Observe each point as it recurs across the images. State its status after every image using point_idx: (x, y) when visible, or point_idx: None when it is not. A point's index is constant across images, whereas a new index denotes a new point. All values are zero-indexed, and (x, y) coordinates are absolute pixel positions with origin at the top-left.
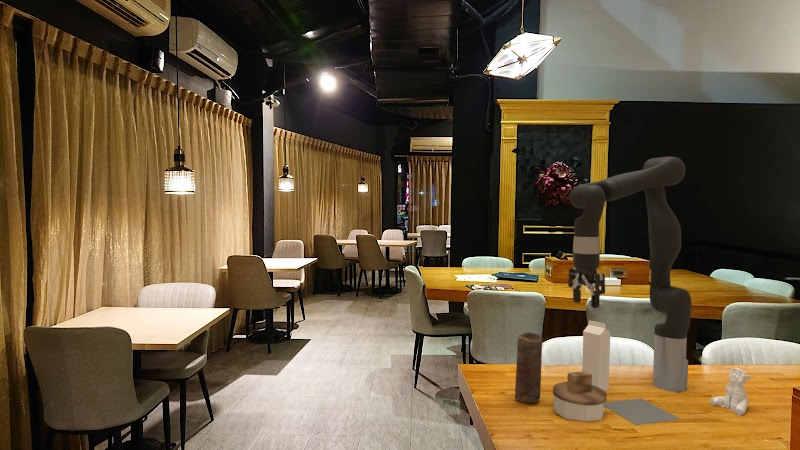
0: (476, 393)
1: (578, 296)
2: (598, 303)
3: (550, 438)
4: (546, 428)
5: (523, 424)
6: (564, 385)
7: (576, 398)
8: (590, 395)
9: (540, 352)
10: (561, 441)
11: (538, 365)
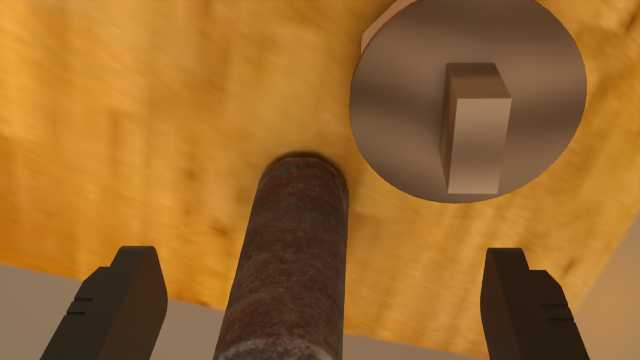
0: (217, 300)
1: (138, 320)
2: (563, 309)
3: (578, 255)
4: (520, 234)
5: (470, 277)
6: (387, 132)
7: (530, 166)
8: (527, 93)
9: (333, 306)
10: (608, 238)
11: (342, 272)
